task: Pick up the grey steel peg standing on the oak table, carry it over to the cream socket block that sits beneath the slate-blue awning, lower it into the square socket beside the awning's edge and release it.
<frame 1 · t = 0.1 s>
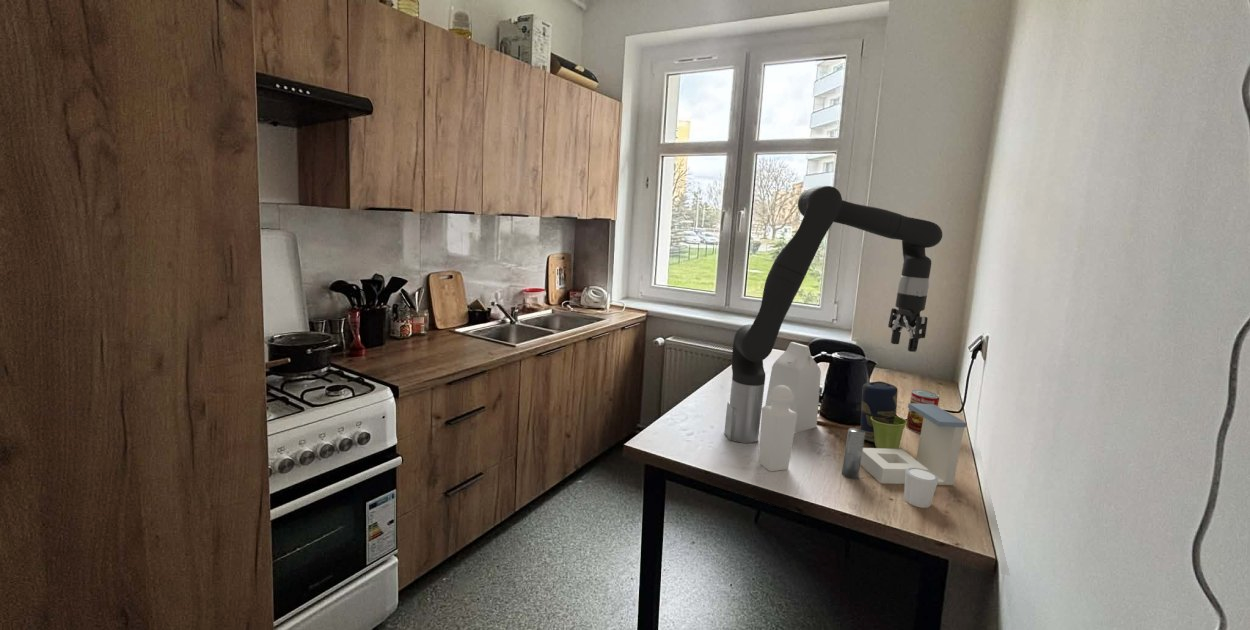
hand: (903, 347, 155), 29 cm above the table, fingers open, 8 cm apart
canister: (876, 440, 160), on the table, touching plant pot
peg: (850, 475, 137), on the table
white tapered cup: (916, 502, 126), on the table
socket station: (890, 472, 140), on the table
white square bottle: (772, 466, 139), on the table
plant pot: (886, 448, 154), on the table, touching canister
canned food: (919, 429, 172), on the table
milk: (789, 423, 170), on the table
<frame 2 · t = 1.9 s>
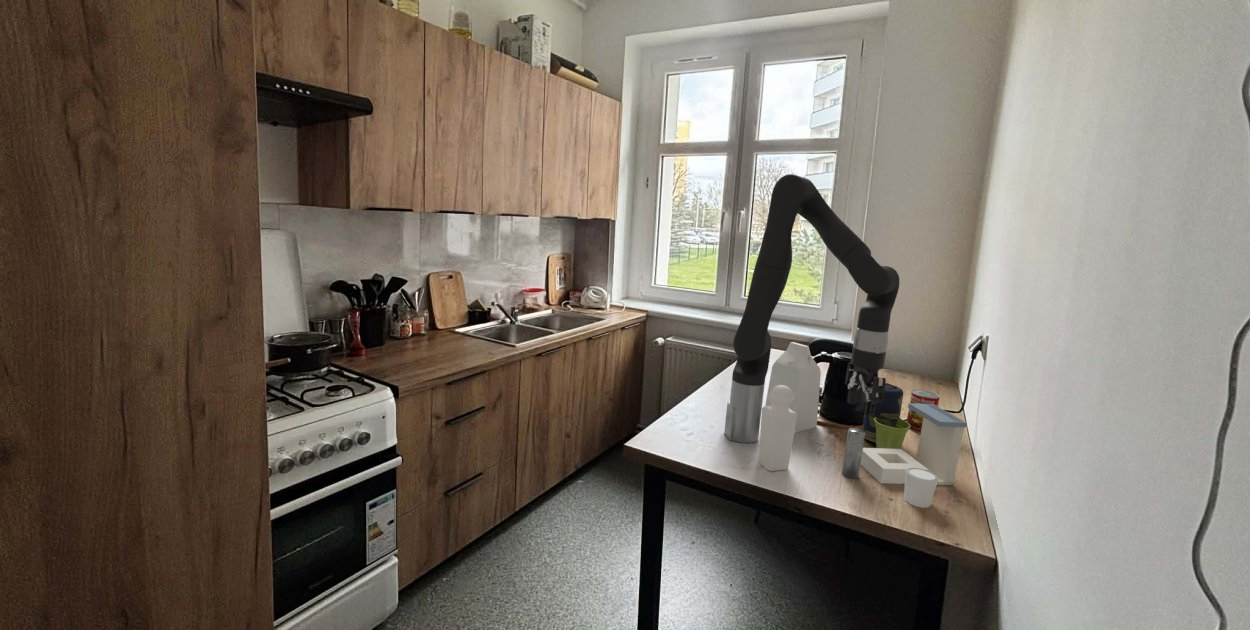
hand: (860, 409, 134), 18 cm above the table, fingers open, 8 cm apart
plant pot: (887, 450, 154), on the table, touching canister
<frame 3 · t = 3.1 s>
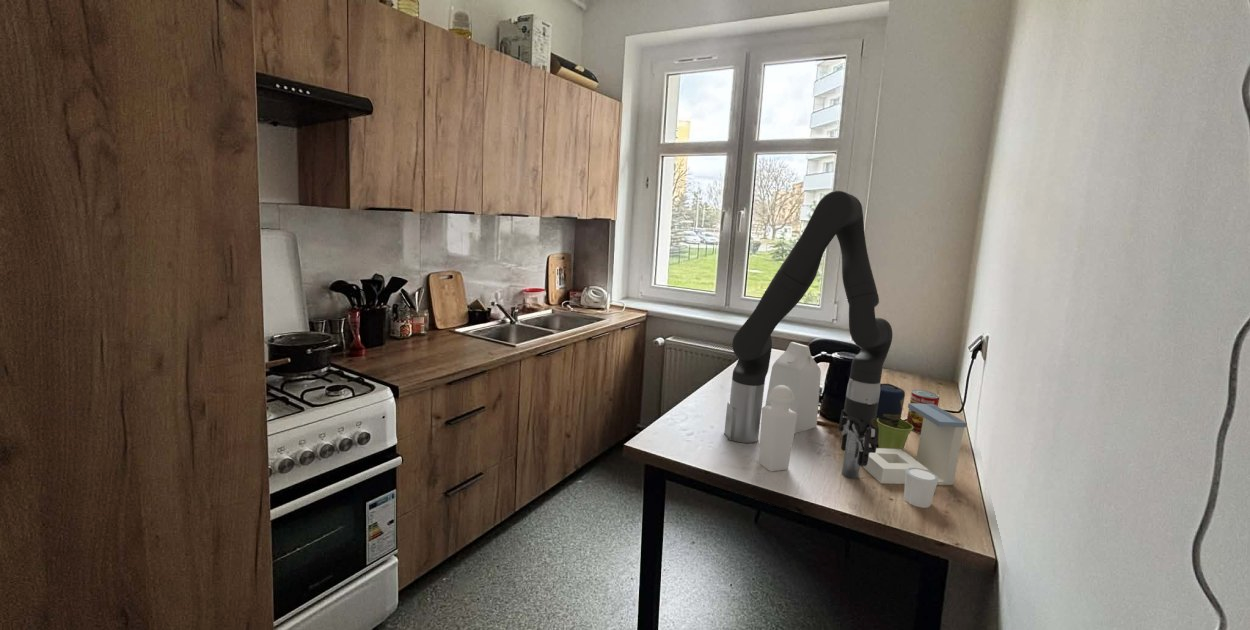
hand: (853, 457, 136), 5 cm above the table, fingers open, 8 cm apart
canister: (877, 441, 160), on the table, touching plant pot
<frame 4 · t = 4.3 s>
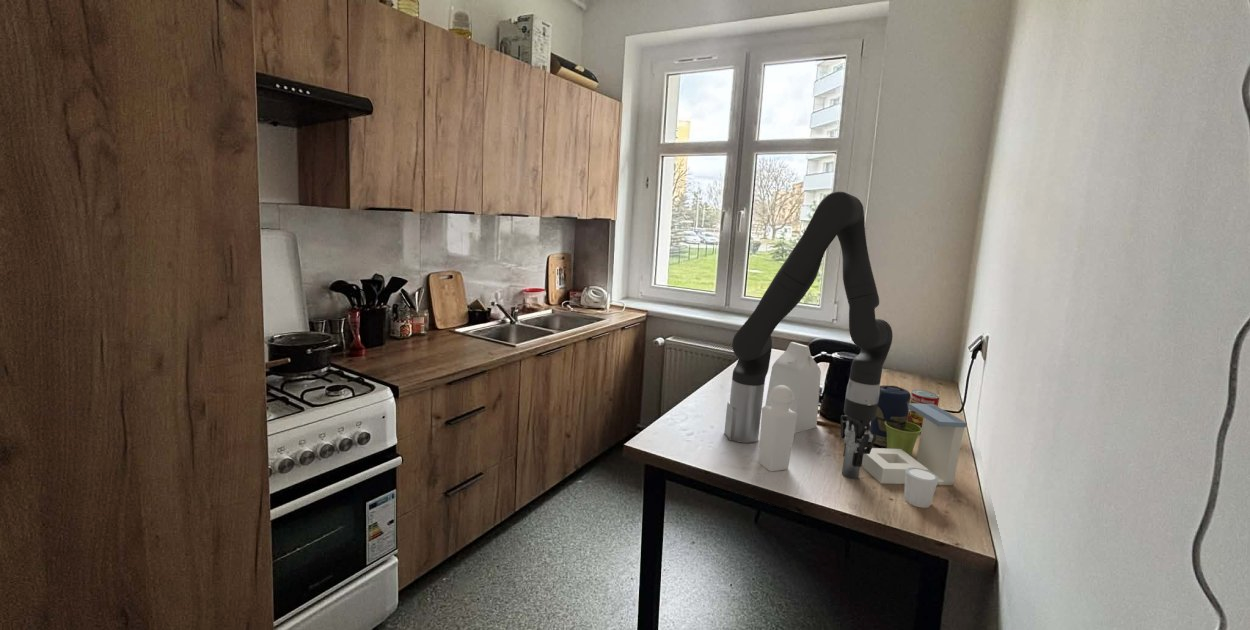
hand: (852, 461, 136), 4 cm above the table, fingers closed on peg, 4 cm apart
canister: (884, 444, 158), on the table, touching plant pot
peg: (850, 475, 137), on the table, touching gripper
plant pot: (898, 454, 152), on the table, touching canister
everything else where it was.
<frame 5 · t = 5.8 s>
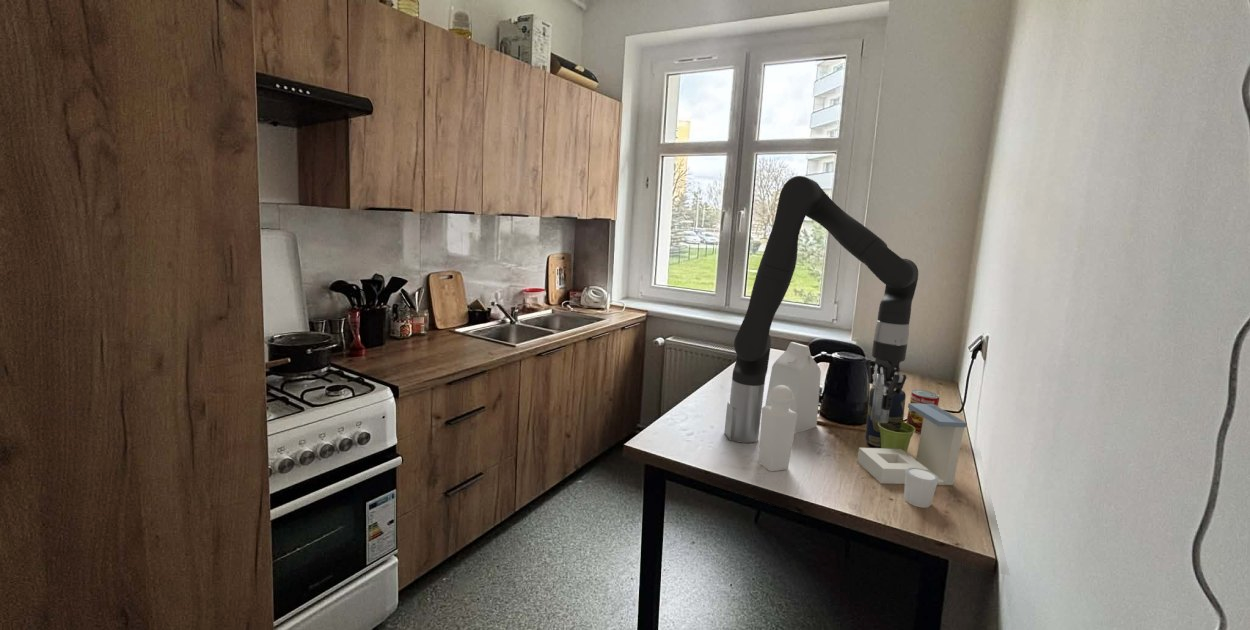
hand: (881, 405, 134), 19 cm above the table, fingers closed on peg, 4 cm apart
canister: (881, 444, 157), on the table, touching plant pot
peg: (879, 420, 135), point 15 cm above the table, touching gripper
plant pot: (893, 455, 151), on the table, touching canister
everything else where it was.
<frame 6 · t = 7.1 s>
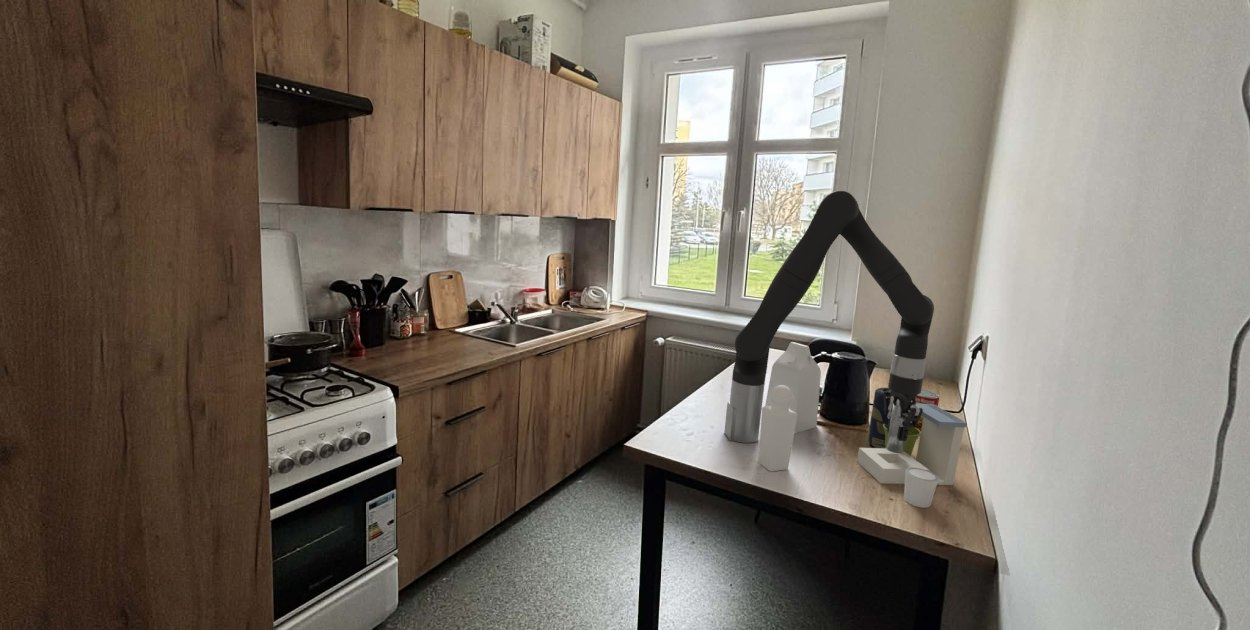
hand: (896, 436, 138), 10 cm above the table, fingers closed on peg, 4 cm apart
canister: (884, 447, 156), on the table, touching plant pot
peg: (894, 449, 139), point 6 cm above the table, touching gripper
plant pot: (896, 458, 149), on the table, touching canister
everything else where it was.
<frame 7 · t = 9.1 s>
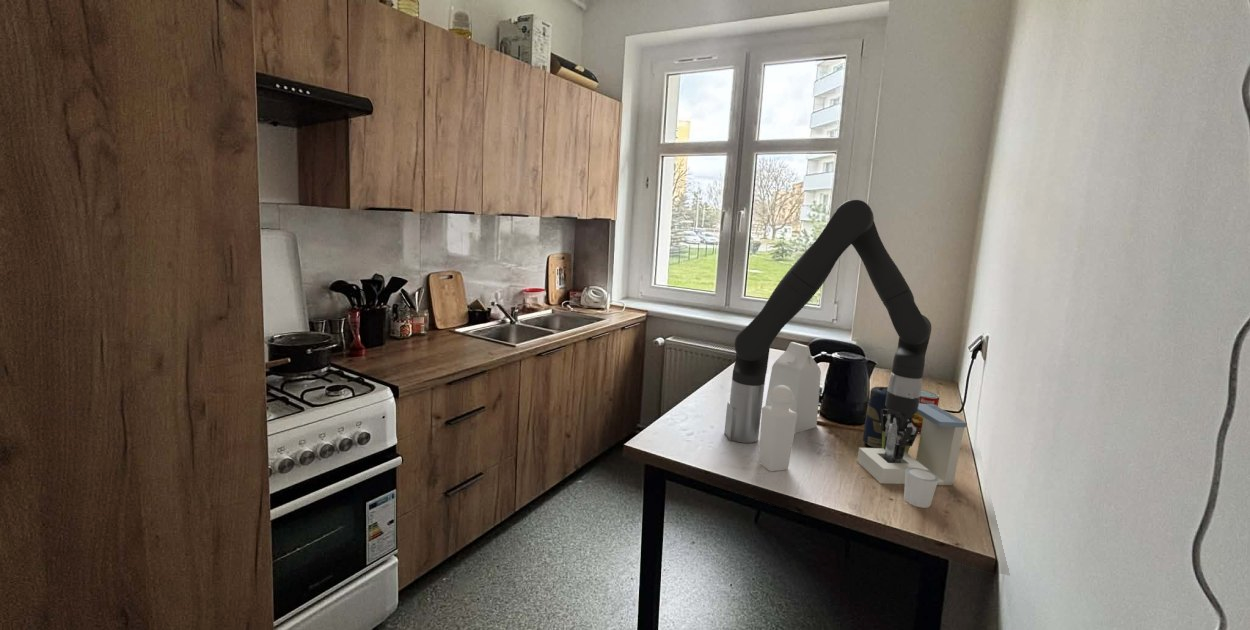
hand: (893, 454, 139), 5 cm above the table, fingers closed on peg, 4 cm apart
canister: (878, 446, 156), on the table, touching plant pot
peg: (890, 467, 139), point 1 cm above the table, touching gripper
when the fingers open (5 cm above the table, at t = 9.2 s): peg drops 1 cm, resting in socket station.
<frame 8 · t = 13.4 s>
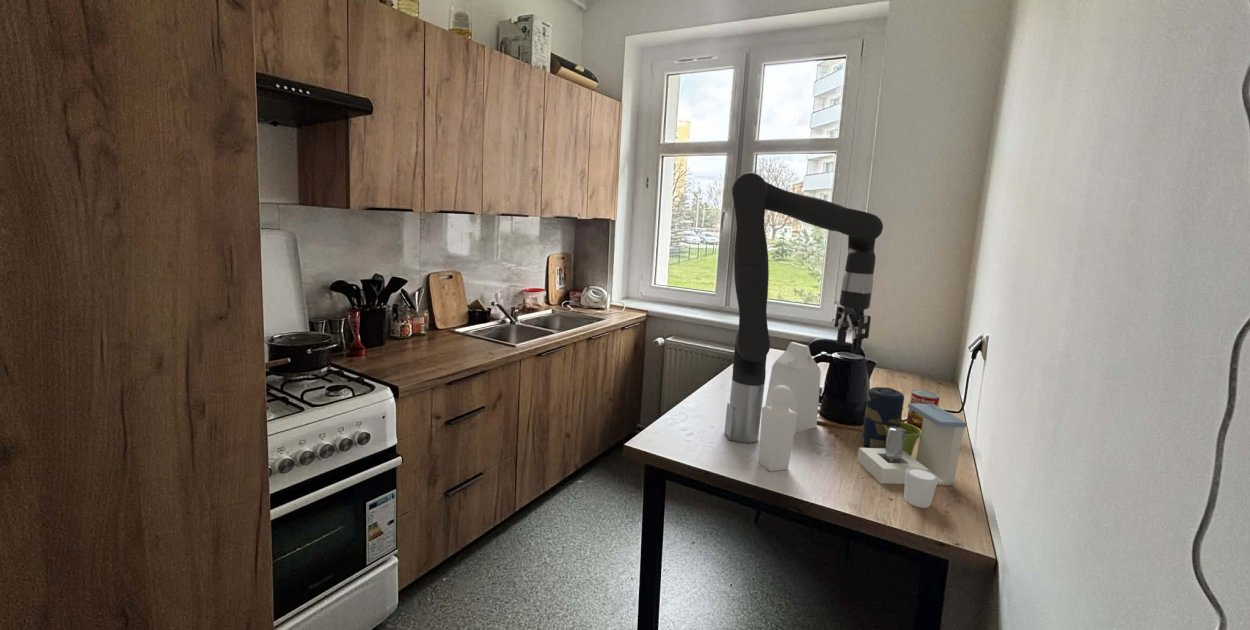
hand: (847, 348, 145), 30 cm above the table, fingers open, 8 cm apart
peg: (890, 472, 140), resting in socket station
plant pot: (897, 457, 150), on the table, touching canister
at the end: peg 0.1 cm off-centre on the socket station, point 0.0 cm above the socket station's base; peg tilted 0°; the gripper is holding nothing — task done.
